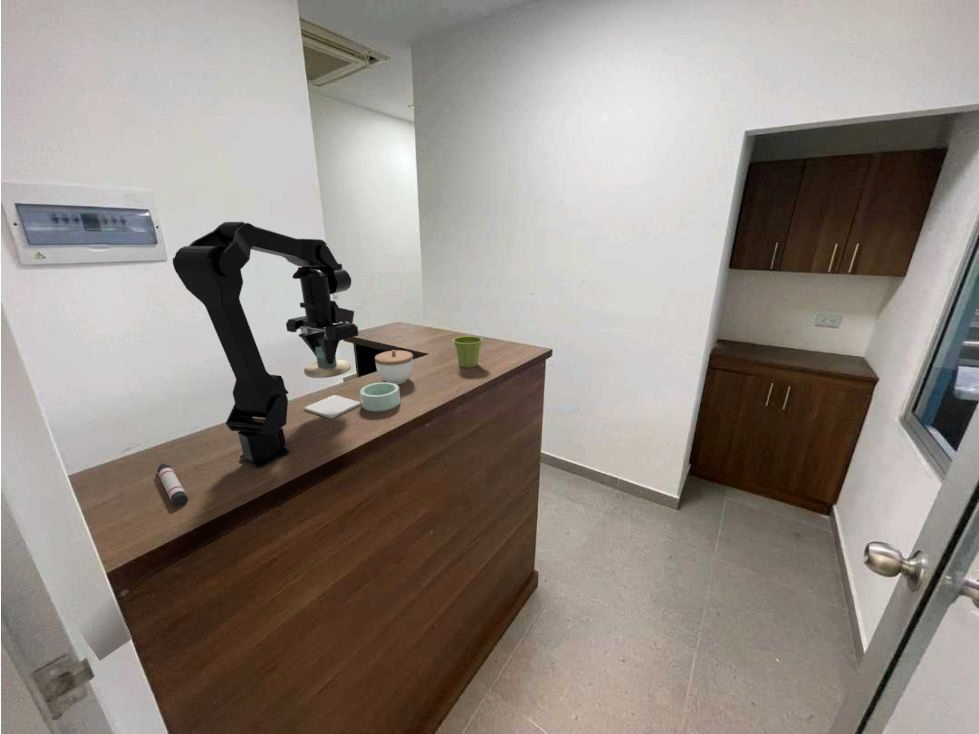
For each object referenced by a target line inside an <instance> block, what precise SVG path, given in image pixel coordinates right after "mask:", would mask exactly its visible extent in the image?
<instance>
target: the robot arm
mask: <svg viewBox="0 0 979 734" xmlns="http://www.w3.org/2000/svg"><path fill="white" fill-rule="evenodd" d="M251 251H257V252H261V253H265V254H270V255H274V256H278V257H282V258H284V259H286V261H287V262H289V263H290V264H293V265H295V266H297V267H298V268H297V270H296V271H295V272H294V273H293V275H292V278H293V280H299V281H300V286H301V287H300V288H301V293H302V300H303V302H299V307H300V308H303V309H304V311H305V315H304V316H299V317H292V318H289V319H288V320H287V321H286V323H285V327H286V331H287V332H290V333H297V330H300V331H301V332H300V333H299V334H298V337H299V338H301V339H302V340H303V341H304V343H305V344H306V346H308V348H310V350H311V351H312V353H313V355H314V356H315V357H316V351H315V347H318V346H321V348H322V350H323V353H324V355H325V357H326V359H327V361H328V363H329V364H333V363H334V359H335V356H336V353H337V349H338V346H339V344H340V341H344V340H347V339H351V338H354V337H359V327H358V326H357V325H356V324H355V323H353V322H354V316H355V310H351V309H347V308H342V307H339V305H338V304H337V301H336V300H332V298H331V295H333V294H338V293H341V292H346V291H348V290H349V289H350V288H351V287H352V286H351V285H352V277H351V276H350V274H349V273H348V271H347V270H345V269H344V268H343V264H342V263H338V262H337V259H336V258H335V256H334V255H333V252H331V250H330V248H329V246H328V245H327V242H325V241H324V240H323V239H318V238H317V239H316V238H295V237H292V236H289V235H287V234H286V235H285V234H282V233H278V232H275V231H272V230H269V229H265V228H262V227H259V226H256V225H253V224H251V223H249V222H247V221H225V222H222V223H221V224H219V225H218V226H217V227H216V228H215V229H214V230H212V231H210V232H208V233H207V234H205V235H203V236H201V237H199V238H198V239H194V241H192V242H191V243H190V244H189V245H187V246H182V247H180V248H179V249H178V250H177V251H176V253H175V256H174V257H173V258H172V264H173V268H174V269H173V270H174V271H175V273H176V274H177V277H178V278H179V279H180V281H181V283H182V284H183V286H184V287H185V289H186V290H187V291H188V292H190V293H191V294H192V295H193V296H194V297H195V298H196V299H197V300H199V301H200V302H201V303H202V304H203V305H204V307H205V309H206V312H207V313H208V316H209V318H210V321H211V323H212V325H213V327H214V331H215V333H216V334H217V335H216V336H217V337H218V340H219V341H220V344H221V347H222V349H223V351H224V354H225V357H226V359H227V361H228V364H229V366H230V368H231V371H232V372H233V375H234V377H235V383H234V385H233V386H234V387H233V390H232V396H233V400H234V404H233V406H232V409H231V411H230V413H229V415H228V417H227V420H226V422H225V425H226V426H227V428H228V429H229V431H231V432H237V435H238V440H239V443H240V447H241V449H242V450H241V451H242V455H240V456H239V459H240V460H241V461H243V462H246V463H248V464H249V465H251V466H254V467H255V468H262V467H263V466H265V465H267V464H269V463H271V462H273V461H276V460H277V459H279V458H281V457H283V456H286V454H288V453H290V452H291V450H290V449H289V448H287V442H286V438H285V437H286V435H285V433H284V428H283V427H284V426H286V425H287V417H288V407H289V406H288V405H289V398H288V396H287V395H289V391H288V389H286V386H285V382H284V379H283V376H282V375H276V374H270V373H269V372H268V371H267V370H266V369H267V368H266V367H265V364H264V362H263V358H262V356H261V354H260V350H259V348H258V345H257V343H256V340H255V338H254V335H253V332H252V329H251V327H250V323H249V322H248V319H247V317H246V313H245V310H244V308H243V306H242V303H241V300H240V296H241V292H242V288H243V284H244V279H243V274H242V269H243V268H244V267H245V265H247V263H248V262H249V261H250V259H251Z"/></svg>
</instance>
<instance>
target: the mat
mask: <svg viewBox="0 0 979 734" xmlns="http://www.w3.org/2000/svg"><path fill="white" fill-rule="evenodd" d="M360 406H362V403H361V401H356V400H354V399H349V398H347V397H344V396H340V395H337V394H333V395H331V396H328V397H325V398H323V399H321V400H319V401H316V402H314V403H312V404H309V405H307V406H305V407H304V408H303V409H304V410H305V411H308V412H310V413H313V414H316V415H319V416H322V417H325V418H328V419H331V420H332V419H334V418H336V417H338V416H340V415H342V414H345V413H347V412H349V411H351V410H354V409H355V408H357V407H360Z"/></svg>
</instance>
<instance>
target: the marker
mask: <svg viewBox="0 0 979 734" xmlns="http://www.w3.org/2000/svg"><path fill="white" fill-rule="evenodd" d="M157 474H158V477H159V479H160V480H161V482H162V485H163V486H164V489H165V490H166V492H167V495H168V497H169V500H170V501H171V502H172V505H173V506H175V507H179V506H183V505H184V504H187V503H188V502H189V498H188V496H187V493H186V491H185V489H184V487H183V486H182V484H181V482H180V480H179V478H178V477H177V475H176V473H175V471H174V470H173V468H172V467H171V466H170V465H169V464H166V463H162V462H161V464H159V466H158V468H157Z"/></svg>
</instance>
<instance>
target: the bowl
mask: <svg viewBox="0 0 979 734" xmlns="http://www.w3.org/2000/svg"><path fill="white" fill-rule="evenodd" d="M359 396H360V402H361V408H362V409H363V410H365V411H367V412H372V413H375V412H376V413H378V412H380V413H381V412H386V411H389V410H393V409H395V408H396V407H398V406H399V405H400V403H401V392H400V386H399V384H394V383H390V382H386V381H385V382H383V381H382V382H380V381H379V382H375V383H369V384H367V385H365V386H363V387H362V388H360V390H359Z"/></svg>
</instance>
